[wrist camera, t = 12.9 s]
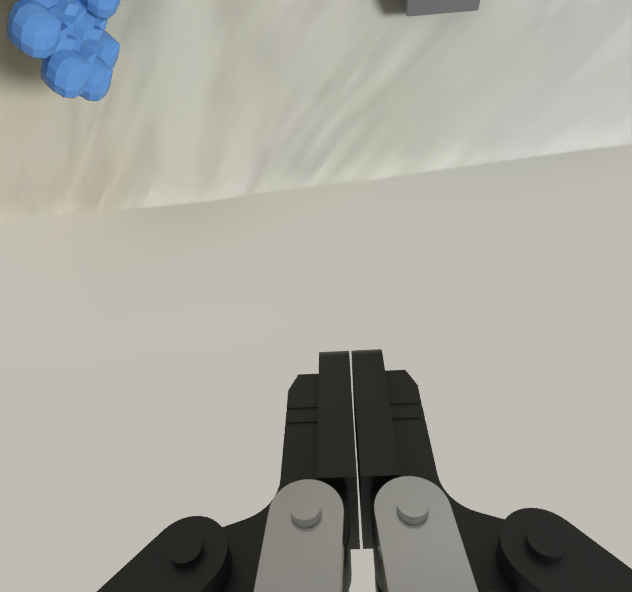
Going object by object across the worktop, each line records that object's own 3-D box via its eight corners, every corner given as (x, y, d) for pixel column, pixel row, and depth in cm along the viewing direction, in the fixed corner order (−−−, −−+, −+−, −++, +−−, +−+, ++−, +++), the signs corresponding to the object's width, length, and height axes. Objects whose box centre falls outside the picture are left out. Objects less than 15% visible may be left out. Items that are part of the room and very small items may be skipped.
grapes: (181, 69, 39) (131, 103, 29) (101, 90, 40) (26, 130, 30) (115, -118, 33) (23, -157, 23) (23, -89, 34) (-104, -114, 24)
